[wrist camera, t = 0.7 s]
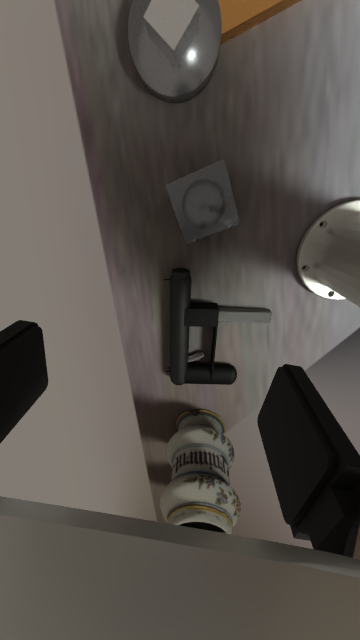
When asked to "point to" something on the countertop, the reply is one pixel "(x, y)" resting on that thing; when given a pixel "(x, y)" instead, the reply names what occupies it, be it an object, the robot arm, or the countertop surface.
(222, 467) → the apothecary jar
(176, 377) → the door handle
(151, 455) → the countertop surface
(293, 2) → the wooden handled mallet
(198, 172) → the socket
